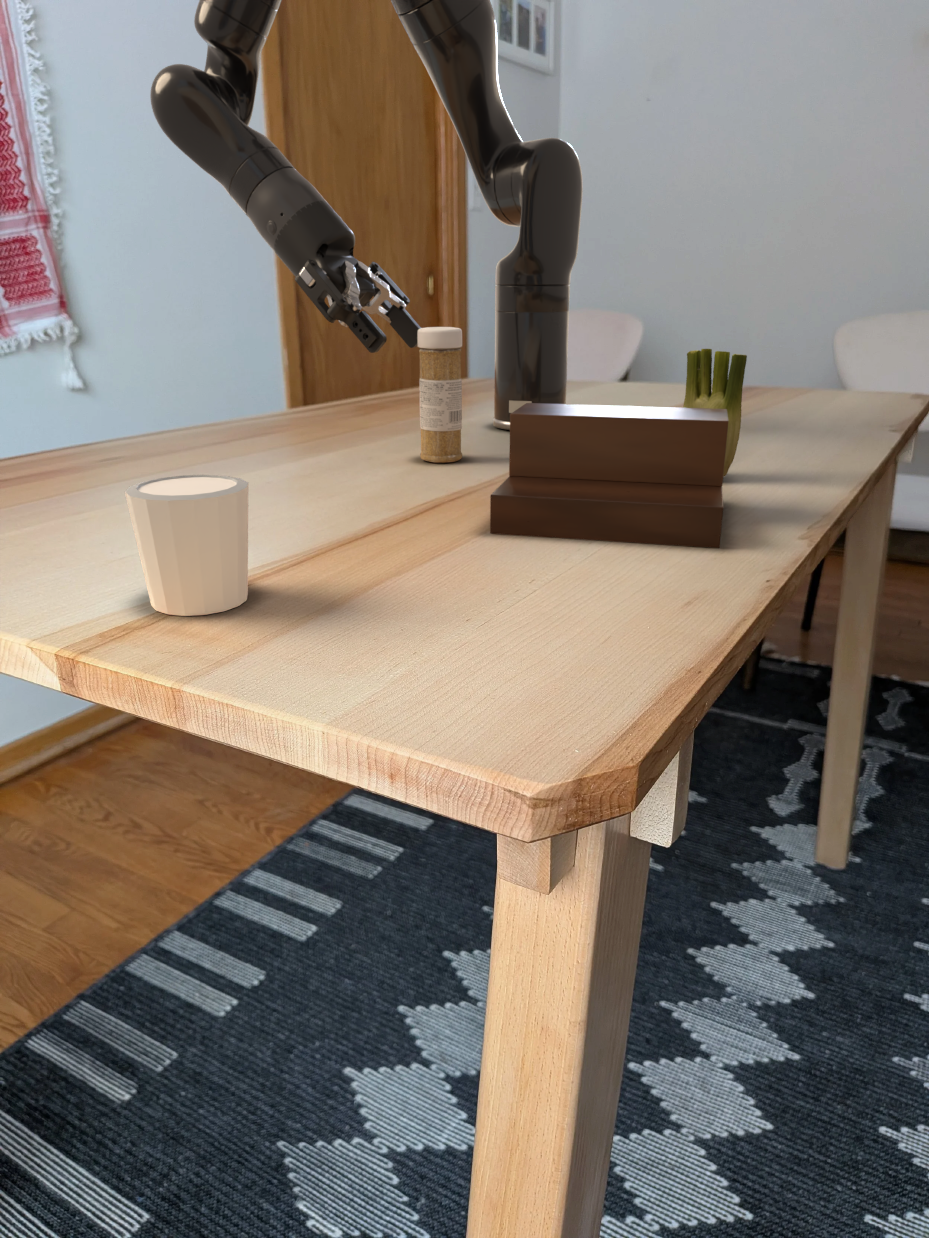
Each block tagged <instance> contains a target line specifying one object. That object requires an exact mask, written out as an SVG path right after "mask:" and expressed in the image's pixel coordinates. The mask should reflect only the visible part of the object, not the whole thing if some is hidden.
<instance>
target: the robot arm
mask: <svg viewBox="0 0 929 1238" xmlns="http://www.w3.org/2000/svg"><path fill="white" fill-rule="evenodd" d="M282 1H283V0H198V3H197V6H196V9H195V14H194V20H193V23H194V24H193V25H194V28H195V30H196V33H197V35H199V36H200V38H201V39H202V40H203V41H204V42H205V43H206V45H207V48H206V49H207V50H206V60H205V65H204V70H202V69H200V68H197V67H195V66H192V65H190V64H184V63H175V64H171V65H167V66H165V67H163V68H161V70H159V71H158V72H157V74H156V75H155V77H154V79H153V80H152V83H151V87H150V105H151V109H152V113H153V116H154V118H155V120H156V122H157V124H158V126H159V128H160V129H161V130H162V132H163V133H164V135H165V136H166V137H167V138H168V140H169V141H170V142H171V143H173V145H174V146H175V147H176V148H177V149H179V151H180V152H182V153H183V154H184V155H185V156H187V157H188V159H190V160H191V161H192V162H193V163H195V164H196V165H197V166H198V167H199V168H200V169H201V170H202V171H204V172H205V173H207V174H208V175H209V176H210V177H211V178H213V179H214V180H215V181H216V182H217V183H219V185H221V186H222V187H223V189H224V190H225V191H226V193H227V194H228V195H229V197H230V198H231V199H232V200H233V202H234V203H235V204H236V205H237V206H238V207H239V208H240V210H241V211H242V212H243V213H244V214H245V215H246V217H247V218H248V219H249V220H250V222H251V223H252V225H253V226H254V228H255V229H256V231H257V232H258V234H259V236H260V237H261V238H262V239H263V241H264V242H265V243H266V244H267V245H268V247H270V249H271V250H272V251H273V253H275V255H276V256H277V257H278V258H279V260H281V262H282V263H283V264H284V265H285V267H287V269H288V270H289V271H290V272H291V274H292V275H293V276H294V281H295V283H296V284H297V285H298V286H299V287H300V289H301V290H302V291H303V292H304V294H305V295H306V296H307V297H308V299H309V300H310V301H311V302H312V304H313V305H314V306H315V307H316V309H317V310H318V311H319V313H320V314H321V315H322V316H323V317H324V318H325V320H327V321H328V322H329V323H331V324H334V323H335V322H336V321H338V323H339V324H340V325H341V326H342V327H345V328H348V329H349V330H350V331H351V332H352V333H353V335H354V336H355V337H356V338H357V339H358V340H359V342H360V343H361V344H362V345H363V347H364V348H365V349H366V350H367V351H368V352H369V353H371V354H375V353H378V352H379V351H380V350H381V349H382V347H383V346H384V345H385V344H386V343H387V341H388V338H387V335H386V334H385V332H383V330H382V329H381V328H380V327H379V325H377V324H376V321H374V320H373V319H372V318H371V316H370V315H375V314H376V315H378V316H379V317H381V319H383V320H385V321H387V322H388V323H389V325H390V327H391V328H392V329H393V330H394V331H395V332H396V334H397V335H398V336H399V337H400V338H401V339H402V341H403V342H404V343H405V344H406V345H407V347H408V348H410V349H411V348H418V340H417V332H418V329H420V328H422V327H421V326H420V324H419V323H418V322H417V321H416V320H415V319H414V317H413V316H412V315H411V314H410V313H409V312H408V311H407V310H406V308H407V306H408V305H410V303H411V300H410V298H409V297H408V296H407V295H406V294H405V293H404V292H403V290H401V289H400V287H399V286H398V285H397V283H395V282H394V280H393V279H392V278H391V277H390V275H388V274H387V272H385V270H384V269H383V268H382V267H381V266H380V264H379V263H377V262H376V261H371V263H370V264H369V266H367V265H366V264H365V263H363V262H362V261H359V260H358V259H357V258H355V256H354V250H355V249H354V248H355V245H356V236H355V233H354V232H353V230H352V229H351V228H350V227H349V225H348V224H347V223H346V222H345V221H344V220H343V218H342V217H341V216H340V215H339V214H338V213H337V212H336V210H335V209H334V207H332V206H331V205H330V204H329V202H328V201H327V200H326V199H325V198H324V196H323V195H322V194H321V193H320V192H319V191H318V189H317V188H316V187H315V186H314V185H313V184H312V183H311V182H310V181H309V180H308V179H306V177H304V176H303V175H302V174H301V173H300V172H299V171H298V170H297V169H296V168H295V167H294V165H293V164H292V162H291V161H290V160H289V159H288V158H287V157H286V156H285V155H284V153H283V152H282V151H281V150H280V149H279V147H278V146H277V145H276V144H274V142H273V141H272V140H270V139H269V138H268V137H267V136H266V135H264V134H262V133H261V132H259V131H258V130H255V129H254V128H252V127H250V123H251V120H252V117H253V112H254V107H255V101H256V94H257V87H258V82H259V76H260V68H261V59H262V58H261V57H262V51H263V49H264V47H265V44H266V43H267V40H268V37H269V34H270V32H271V29H272V27H273V25H274V22H275V19H276V16H277V14H278V11H279V9H280V6H281V3H282ZM390 2H391V5H392V6H393V9H394V11H395V13H396V14H397V17H398V19H399V21H400V23H401V24H402V26H403V29H404V31H405V32H406V34H407V36H408V38H409V40H410V42H411V44H412V46H413V48H414V50H415V51H416V54H417V55H418V57H419V59H420V60H421V62H422V65H423V66H424V68H425V69H426V71H427V74H428V76H429V77H430V79H431V82H432V84H433V86H434V88H435V90H436V92H437V94H438V96H439V98H440V100H441V102H442V104H443V106H444V108H445V110H446V112H447V114H448V117H449V119H450V121H451V122H452V124H453V126H454V129H455V132H456V134H457V136H458V138H459V140H460V143H461V146H462V148H463V150H464V153H465V156H466V158H467V161H468V163H469V165H470V167H471V168H470V169H471V170H472V173H473V177H474V179H475V181H476V184H477V186H478V189H479V192H480V193H481V196H482V198H483V200H484V203H485V204H486V206H487V208H488V209H489V211H490V213H491V214H492V215H493V216H494V217H495V218H496V219H497V220H498V221H499V223H500V222H501V223H502V224H504V225H506V226H509V227H516V228H519V233H518V239H517V241H516V244H515V245H514V247H513V249H512V250H511V251H510V252H509V253H507V255H505V256H504V257H502V258H501V259H500V260H498V262H497V264H496V266H495V278H494V279H495V282H494V283H495V284H494V285H495V287H494V288H495V289H494V291H495V295H494V296H495V297H494V395H493V398H494V399H493V400H494V402H493V403H494V404H493V406H494V407H493V408H494V409H493V418H492V419H493V420H492V425H493V427H495V428H498V429H502V430H508V431H510V414H511V413H512V412H514V411H515V410H517V409H518V408H520V407H521V406H523V405H524V404H526V403H543V404H567V387H568V385H567V381H568V358H569V357H568V353H569V329H570V325H569V324H570V299H571V298H570V295H571V286H570V285H571V278H572V277H571V276H572V271H573V268H574V266H575V264H576V260H577V257H578V252H579V242H580V241H579V240H580V231H581V230H580V229H581V220H582V207H583V194H584V193H583V192H584V190H583V189H584V188H583V185H584V184H583V183H584V182H583V172H582V166H581V162H580V159H579V157H578V154H577V152H576V150H575V149H574V148H573V146H572V145H571V144H570V143H568V142H567V141H565V140H564V139H562V138H557V137H545V138H539V139H534V140H533V139H532V140H527V141H523V140H522V138H521V136H520V134H518V131H517V130H516V128H515V126H514V124H513V122H512V119H511V117H510V115H509V112H508V111H507V109H506V106H505V103H504V101H503V100H504V99H503V97H502V93H501V89H500V83H499V70H498V32H497V31H498V30H497V22H496V21H497V20H496V15H495V12H494V7H493V5H492V3H491V0H390ZM326 298H327V301H328V304H327V303H326V302H325V301H326ZM328 305H329V306H328Z"/></svg>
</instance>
